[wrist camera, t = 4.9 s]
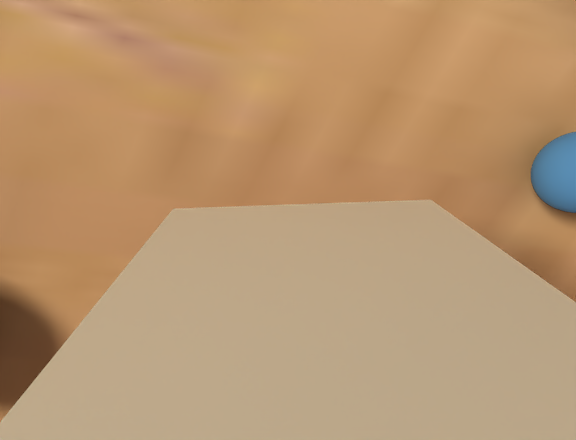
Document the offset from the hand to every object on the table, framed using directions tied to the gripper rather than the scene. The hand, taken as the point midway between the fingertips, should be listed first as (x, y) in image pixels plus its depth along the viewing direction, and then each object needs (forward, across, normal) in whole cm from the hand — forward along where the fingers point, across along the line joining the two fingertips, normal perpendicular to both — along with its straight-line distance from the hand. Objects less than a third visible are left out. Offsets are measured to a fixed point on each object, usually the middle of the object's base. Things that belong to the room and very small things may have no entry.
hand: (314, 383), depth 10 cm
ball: (+14, -18, -2) cm, 23 cm away
